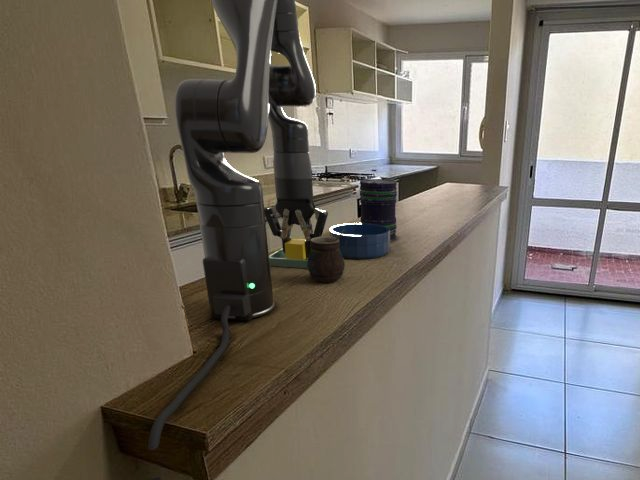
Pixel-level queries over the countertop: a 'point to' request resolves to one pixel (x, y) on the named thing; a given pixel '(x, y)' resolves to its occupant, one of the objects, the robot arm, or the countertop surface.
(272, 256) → the soap dish
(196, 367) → the countertop surface
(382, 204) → the storage jar
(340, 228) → the bowl
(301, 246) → the sponge
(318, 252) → the mate gourd
